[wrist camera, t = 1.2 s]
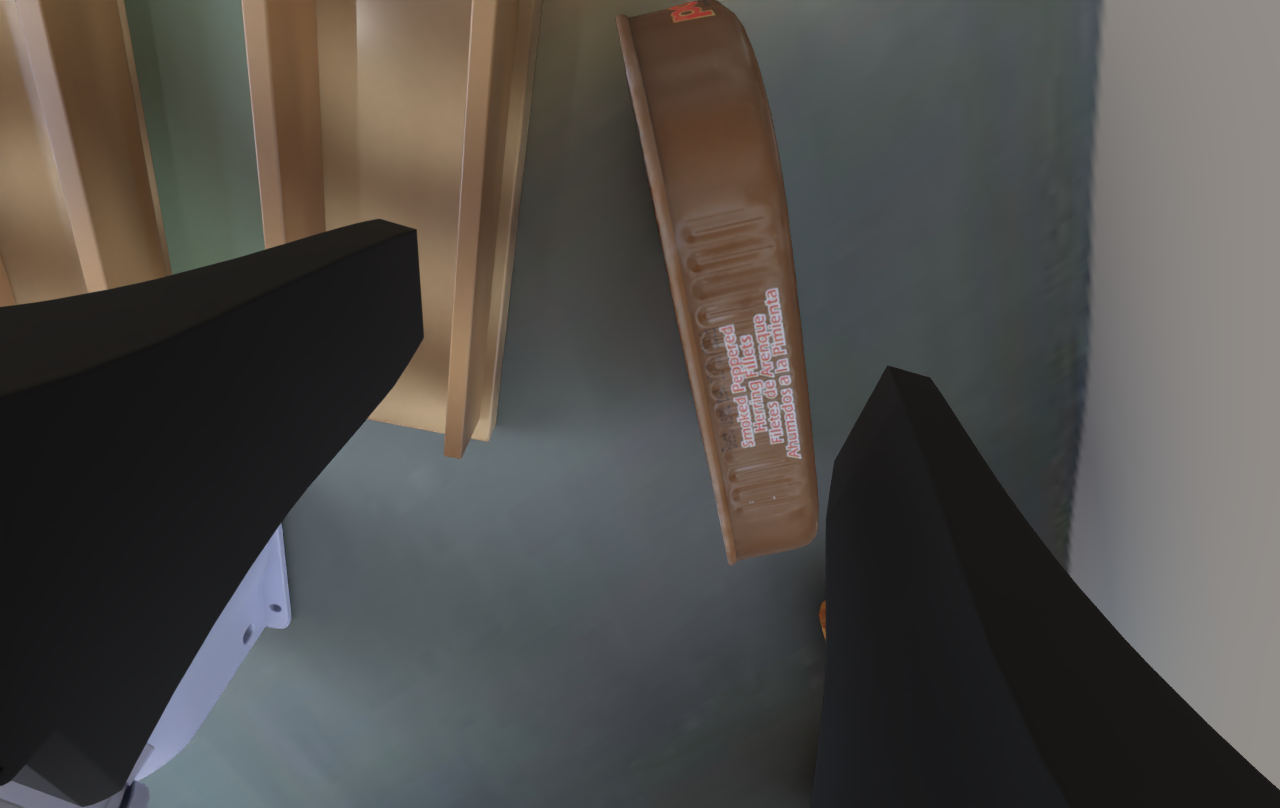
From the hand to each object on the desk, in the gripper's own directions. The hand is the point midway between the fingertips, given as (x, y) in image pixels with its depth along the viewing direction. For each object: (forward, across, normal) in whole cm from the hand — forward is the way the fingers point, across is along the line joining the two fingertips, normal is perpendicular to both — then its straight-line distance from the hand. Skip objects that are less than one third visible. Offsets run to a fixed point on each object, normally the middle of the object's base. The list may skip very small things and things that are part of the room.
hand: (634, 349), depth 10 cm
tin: (+12, 0, +5) cm, 13 cm away
